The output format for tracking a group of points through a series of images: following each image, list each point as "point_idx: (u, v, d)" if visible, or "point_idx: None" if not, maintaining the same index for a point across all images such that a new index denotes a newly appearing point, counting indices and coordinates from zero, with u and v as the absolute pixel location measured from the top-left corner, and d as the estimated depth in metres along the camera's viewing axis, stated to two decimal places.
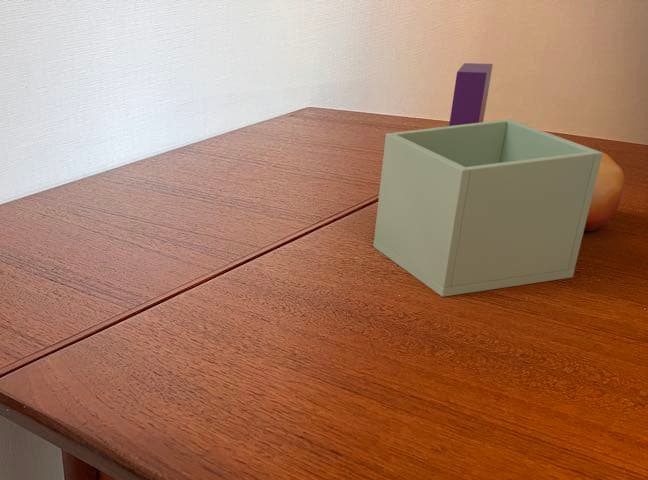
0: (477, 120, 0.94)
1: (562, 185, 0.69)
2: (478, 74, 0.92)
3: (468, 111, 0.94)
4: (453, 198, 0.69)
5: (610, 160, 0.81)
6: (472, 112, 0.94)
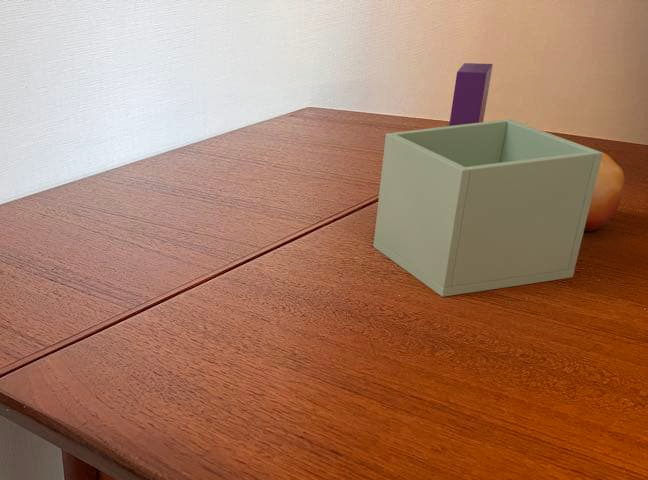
0: (477, 120, 0.94)
1: (562, 185, 0.69)
2: (478, 74, 0.92)
3: (468, 111, 0.94)
4: (453, 198, 0.69)
5: (610, 160, 0.81)
6: (472, 112, 0.94)
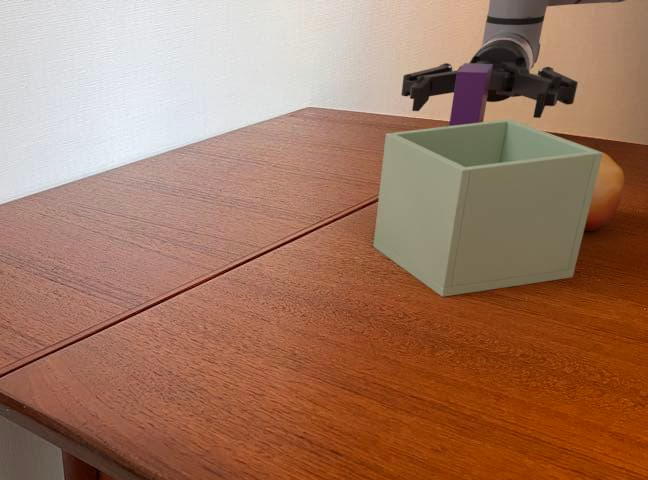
0: (477, 120, 0.94)
1: (562, 185, 0.69)
2: (478, 74, 0.92)
3: (468, 111, 0.94)
4: (453, 198, 0.69)
5: (610, 160, 0.81)
6: (472, 112, 0.94)
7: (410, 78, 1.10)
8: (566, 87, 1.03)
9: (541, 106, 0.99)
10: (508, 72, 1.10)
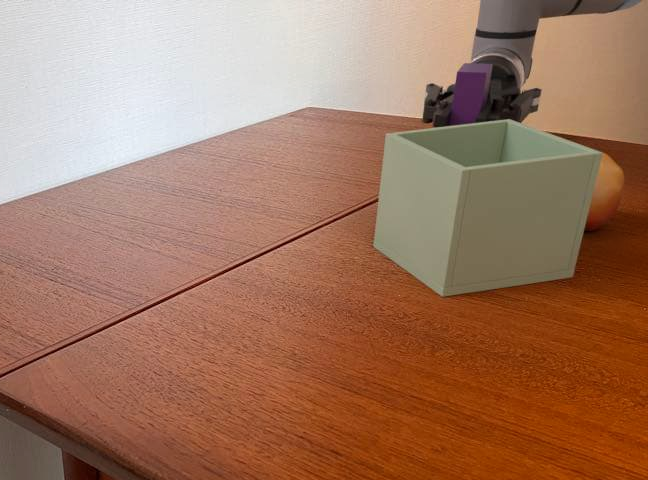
0: None
1: (562, 185, 0.69)
2: (478, 73, 0.92)
3: (468, 111, 0.94)
4: (453, 198, 0.69)
5: (610, 160, 0.81)
6: (472, 112, 0.94)
7: (434, 103, 0.99)
8: (508, 110, 0.96)
9: None
10: None
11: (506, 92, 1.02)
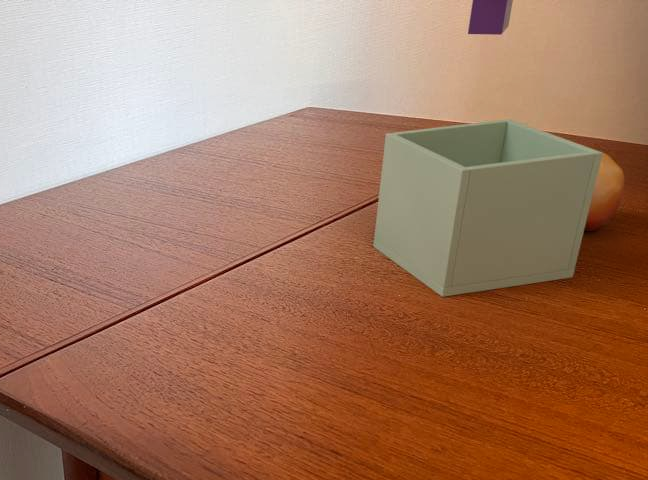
0: None
1: (562, 185, 0.69)
2: None
3: None
4: (453, 198, 0.69)
5: (610, 160, 0.81)
6: None
7: None
8: None
9: None
10: None
11: None
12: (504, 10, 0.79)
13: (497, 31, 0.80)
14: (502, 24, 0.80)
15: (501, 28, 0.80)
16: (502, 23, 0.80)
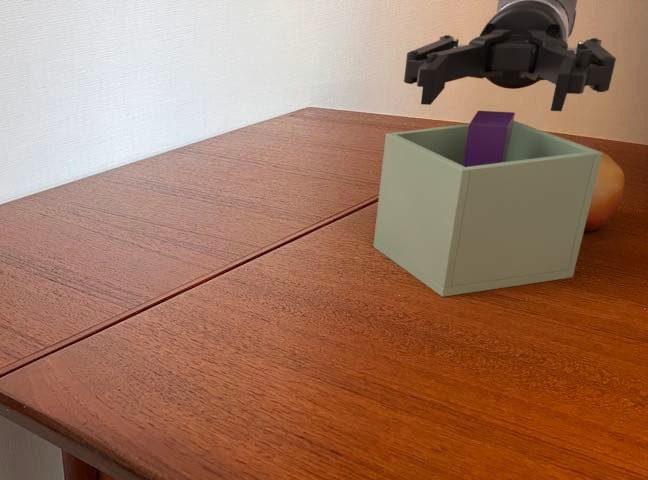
0: None
1: (562, 185, 0.69)
2: (496, 127, 0.70)
3: None
4: (453, 198, 0.69)
5: (610, 160, 0.81)
6: None
7: (418, 57, 0.75)
8: (598, 66, 0.69)
9: (563, 93, 0.65)
10: (538, 44, 0.76)
11: None
12: None
13: None
14: None
15: None
16: None
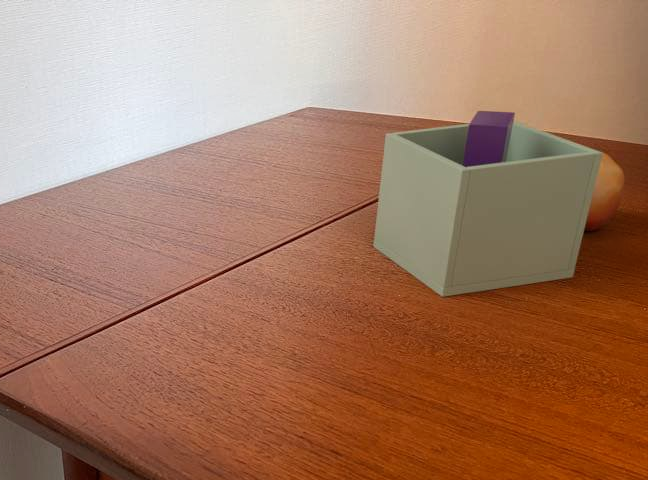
0: None
1: (562, 185, 0.69)
2: (496, 127, 0.70)
3: None
4: (453, 198, 0.69)
5: (610, 160, 0.81)
6: None
7: None
8: None
9: None
10: None
11: None
12: None
13: None
14: None
15: None
16: None
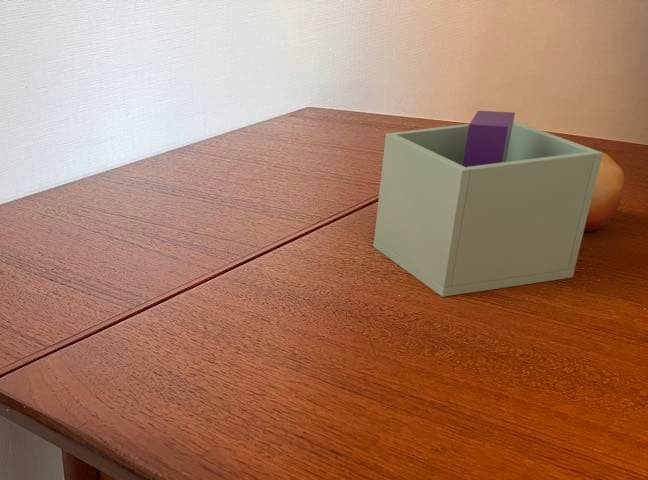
0: None
1: (562, 185, 0.69)
2: (496, 127, 0.70)
3: None
4: (453, 198, 0.69)
5: (610, 160, 0.81)
6: None
7: None
8: None
9: None
10: None
11: None
12: None
13: None
14: None
15: None
16: None
